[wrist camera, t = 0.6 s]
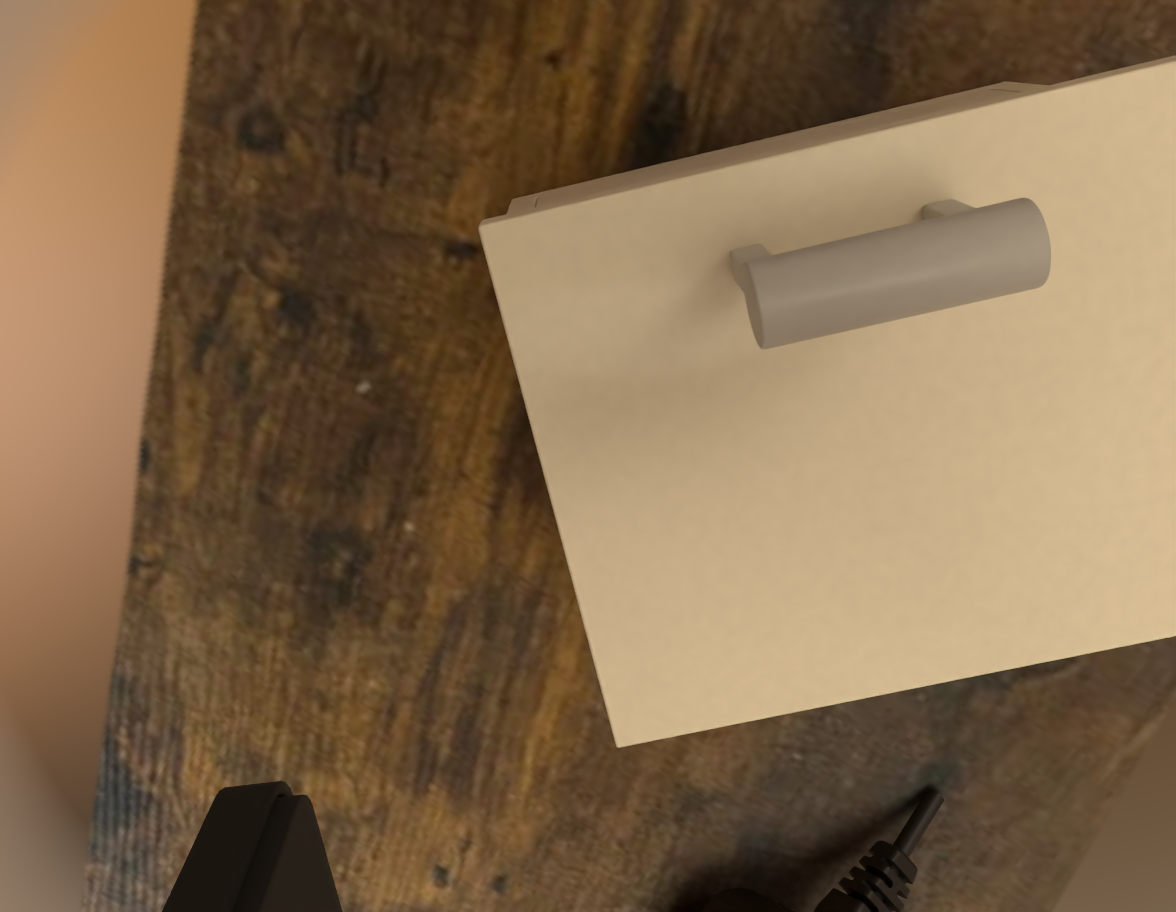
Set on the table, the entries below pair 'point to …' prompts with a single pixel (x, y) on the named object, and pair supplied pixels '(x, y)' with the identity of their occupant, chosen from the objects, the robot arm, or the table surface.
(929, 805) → the power plug
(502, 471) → the table surface
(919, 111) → the compartment
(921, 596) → the lid
